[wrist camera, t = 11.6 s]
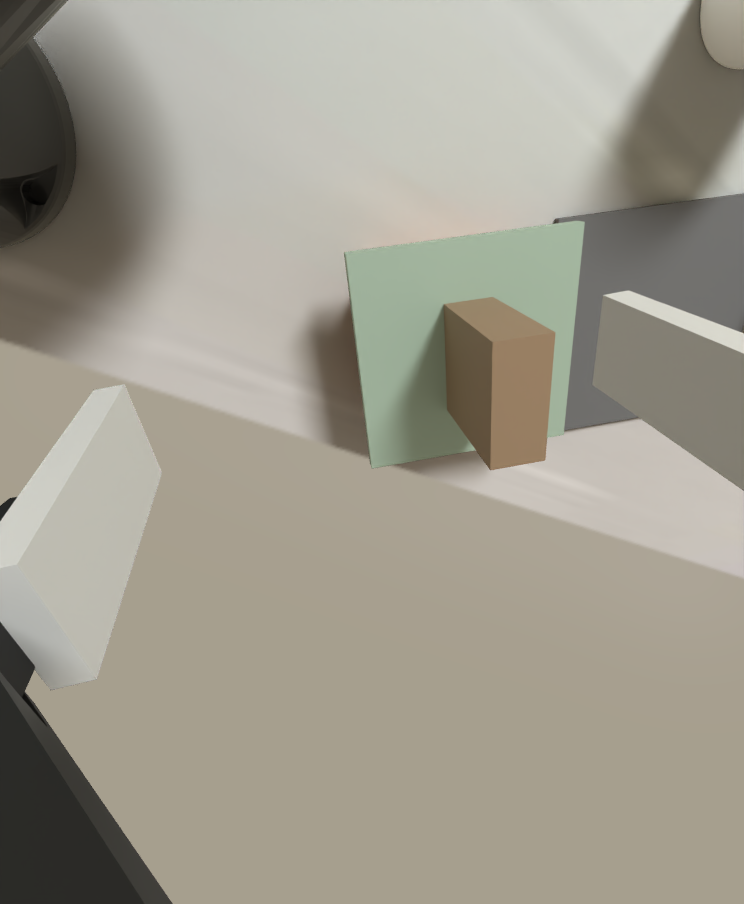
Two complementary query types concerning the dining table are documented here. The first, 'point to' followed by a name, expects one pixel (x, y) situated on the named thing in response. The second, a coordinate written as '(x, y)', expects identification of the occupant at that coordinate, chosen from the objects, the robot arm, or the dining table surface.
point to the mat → (653, 279)
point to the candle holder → (724, 31)
